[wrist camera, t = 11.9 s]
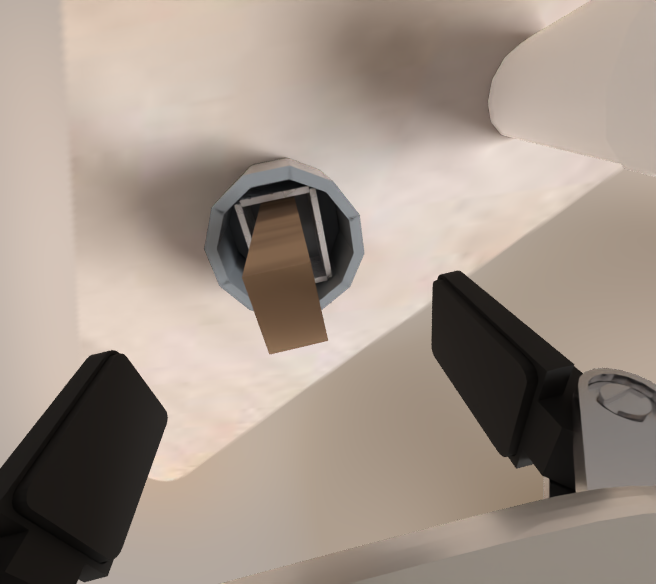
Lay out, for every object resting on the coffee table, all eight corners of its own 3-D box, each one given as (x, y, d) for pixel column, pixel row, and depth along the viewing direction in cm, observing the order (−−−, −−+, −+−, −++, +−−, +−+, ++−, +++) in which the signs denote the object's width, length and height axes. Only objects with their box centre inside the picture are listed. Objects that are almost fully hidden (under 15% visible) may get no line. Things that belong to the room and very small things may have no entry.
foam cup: (496, 184, 25) (675, 225, 14) (446, 80, 21) (645, 18, 10) (601, 99, 23) (913, 67, 12) (570, -33, 19) (1003, -279, 8)
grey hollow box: (240, 190, 22) (232, 201, 18) (308, 176, 22) (314, 184, 18) (265, 272, 25) (263, 294, 22) (325, 259, 25) (332, 279, 22)
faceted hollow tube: (203, 175, 21) (179, 188, 16) (334, 147, 22) (351, 152, 17) (245, 290, 26) (237, 329, 21) (351, 266, 27) (369, 298, 21)
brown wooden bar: (261, 198, 22) (242, 277, 10) (293, 191, 22) (310, 262, 10) (274, 241, 24) (269, 354, 12) (302, 235, 24) (328, 340, 12)
